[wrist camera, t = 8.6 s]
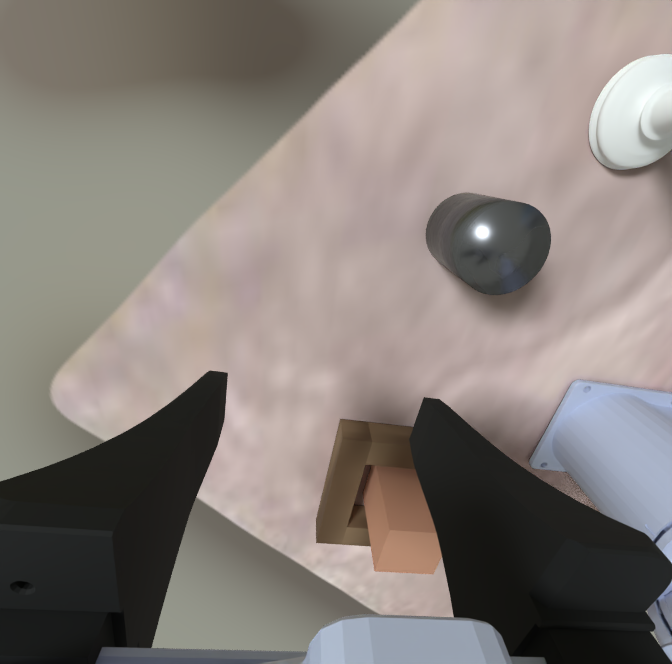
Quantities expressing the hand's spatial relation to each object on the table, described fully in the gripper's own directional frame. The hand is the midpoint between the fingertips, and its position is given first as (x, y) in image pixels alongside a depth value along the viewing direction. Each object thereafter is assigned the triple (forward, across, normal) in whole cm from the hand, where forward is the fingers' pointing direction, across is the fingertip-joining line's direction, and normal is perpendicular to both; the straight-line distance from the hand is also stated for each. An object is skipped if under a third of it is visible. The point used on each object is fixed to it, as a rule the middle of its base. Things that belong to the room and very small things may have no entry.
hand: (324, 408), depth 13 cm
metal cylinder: (+9, -7, -6) cm, 13 cm away
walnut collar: (+9, -8, +13) cm, 18 cm away
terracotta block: (+10, -8, +13) cm, 18 cm away
